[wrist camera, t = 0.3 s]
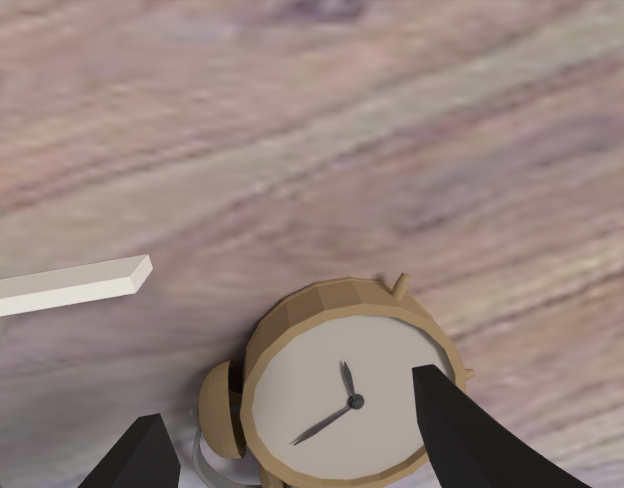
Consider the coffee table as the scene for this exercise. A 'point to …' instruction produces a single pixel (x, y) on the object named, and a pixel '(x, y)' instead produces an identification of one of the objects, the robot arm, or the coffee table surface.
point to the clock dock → (73, 285)
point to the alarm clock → (327, 389)
